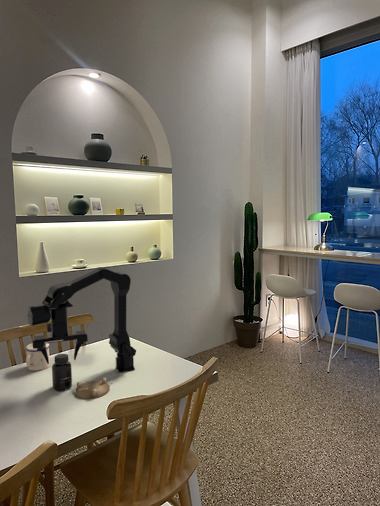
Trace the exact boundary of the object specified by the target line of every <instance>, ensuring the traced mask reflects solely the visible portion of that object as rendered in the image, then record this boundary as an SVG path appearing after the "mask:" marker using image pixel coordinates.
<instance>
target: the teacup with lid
mask: <svg viewBox="0 0 380 506" xmlns="http://www.w3.org/2000/svg"><path fill="white" fill-rule="evenodd" d="M46 348H47V353H48V358H49V364H48V363H47V361H46V359H45V357H44V355H43V354H42V352H41V351H40V350H37V348H36V349H34V348H33V342H32V343H29V344H28V345H27V346H26V348H25V350H26V357H25V364H26V366H27V369H28V370H29V371H35V372H37V371H38V372H39V371H43V370H46V369H48V368H49V367H50V365H51V361H50V360H51V359H50V357H51V356H50V343H46Z"/></svg>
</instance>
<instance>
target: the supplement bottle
mask: <svg viewBox="0 0 380 506" xmlns="http://www.w3.org/2000/svg"><path fill="white" fill-rule="evenodd" d="M53 361H54V363H53V364H52V366H51V372H52V373H51V376H52V377H51V378H52V380H51V381H52V389H53V390H54V391H57V392H64V391H67V390H70V389H71V388H72V385H73V376H72V375H73V374H72V372H73V371H72V368H73V367H72V363H71V362H70V361H69V355H68V354H67V353H59V354H56V355H55V356H54V360H53Z"/></svg>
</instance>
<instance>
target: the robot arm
mask: <svg viewBox="0 0 380 506" xmlns="http://www.w3.org/2000/svg"><path fill="white" fill-rule="evenodd" d="M103 279H104V280H107V281H109V282H110V287H111V289H112V293H113V297H114V299H113V301H114V303H113V304H114V305H113V306H114V308H113V309H114V311H113V312H114V313H113V314H114V323H113V324H114V327H113V332H112V333H109V334H108V336H109V337H108V338H109V341H108V344H109V345H110V348H112V349H113V350H114V353H116V356H115V368H116V369H117V370H118V373H123V372H127V371H128V372H129V371H136V368H135V366H134V361H135V360H134V356H136V354H137V349H135V348H134V347H133V346H131V339H130V336H129V333H128V331H127V295H128V293H129V292H130V289H131V283H132V282H131V281H132V280H131V277H130V275H128V274H126V273H123V272H121V271H120V272H119V271H116V272H114V271H112V270H109V269H108V268H106V267H102V266H100V267H98V268H96V269H94V270H92V271H89V272H87V273H86V274H83V275H82V276H79V277H77V278H75V279H72V280H71V281H65V282H61V283H57V284H53V285H51V286H50V287H49V288H48V290H47V294H46V296H45V297H44V299H43V301H42V303H41V304H39V305H38V304H37V305H30V306H28V311H27V315H26V316H27V318H26V319H27V322H28V324H29V326H30V327H33V326H39V325H44V324H45V325H46V329H47V333H51V337H45V334H43V335H37V336H36V335H35V336H33V337H32V343H33V348H34V349H36V348H37V350H40V351H41V352H42V354H43V355H44V357H45V359H46V361H47V363H48V364H49V358H48V353H47V348H46V343H48V344H52V343H61V342H68V341H74V349H73V351H74V352H73V360H74V361H76V360H77V356H78V353H79V351H80V348H81V347H82V345H85V343H87V342H88V341H89V339H88V333H87V331H86V330H76V331H75V332H74V334H69V322H68V321H69V320H68V308H72V307H73V306H74V305H73V303H71V302H70V301H69V300H70V299H71V298H72V297H73V296H74V295H75V294H76V293H77V292H79V291H81V290H84V289H86V288H87V287H89V286H91V285H93V284H95V283H97V282H99V281H102V280H103ZM49 322H50V323H49Z"/></svg>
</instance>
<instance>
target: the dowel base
mask: <svg viewBox="0 0 380 506" xmlns="http://www.w3.org/2000/svg"><path fill="white" fill-rule="evenodd" d="M74 390H75V391H74V392H75V395H76V397H78V398H80V399H84V400H90V399H91V400H92V399H98V398H100V397H101V398H102V397H103V396H106V395H107V394H108V393H109V392H110V390H111V388H110V384H109V383H108V382H107V379H106V377H103V378H101V380H91V381H85V382H83V383H81V381H78V382H76V387H75V389H74Z"/></svg>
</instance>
